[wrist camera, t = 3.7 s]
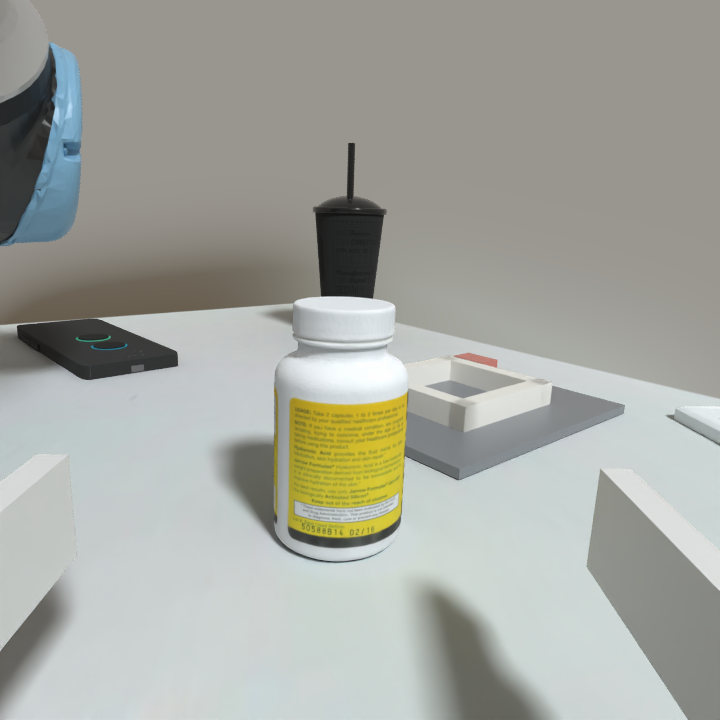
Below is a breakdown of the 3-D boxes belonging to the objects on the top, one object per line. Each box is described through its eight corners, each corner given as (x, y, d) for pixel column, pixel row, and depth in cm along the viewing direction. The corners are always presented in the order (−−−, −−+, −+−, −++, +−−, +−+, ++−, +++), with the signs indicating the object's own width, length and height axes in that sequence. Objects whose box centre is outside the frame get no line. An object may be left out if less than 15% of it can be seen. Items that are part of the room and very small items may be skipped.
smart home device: (80, 364, 45) (12, 324, 59) (82, 386, 45) (14, 340, 60) (182, 351, 50) (97, 316, 65) (183, 370, 51) (98, 332, 65)
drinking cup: (364, 347, 60) (372, 137, 55) (298, 339, 63) (300, 139, 58) (391, 334, 66) (400, 147, 62) (330, 327, 69) (334, 148, 65)
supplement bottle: (426, 542, 25) (443, 309, 22) (312, 582, 22) (316, 318, 19) (356, 490, 29) (363, 290, 27) (253, 517, 26) (250, 296, 24)
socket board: (284, 400, 42) (285, 371, 42) (451, 365, 54) (452, 341, 53) (459, 480, 30) (462, 439, 30) (623, 413, 42) (628, 383, 41)
